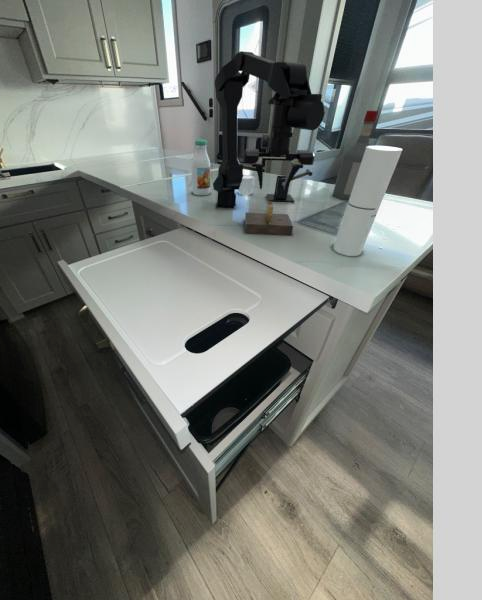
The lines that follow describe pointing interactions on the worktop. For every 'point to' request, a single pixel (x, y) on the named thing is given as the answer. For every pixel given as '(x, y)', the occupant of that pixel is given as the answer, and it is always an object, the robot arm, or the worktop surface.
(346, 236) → the cylindrical container
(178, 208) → the worktop surface
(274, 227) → the brown flat block
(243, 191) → the shot glass
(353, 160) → the liquor
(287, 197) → the latch bracket
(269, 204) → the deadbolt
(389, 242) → the worktop surface
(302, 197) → the worktop surface
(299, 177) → the latch
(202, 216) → the worktop surface
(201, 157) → the milk bottle
